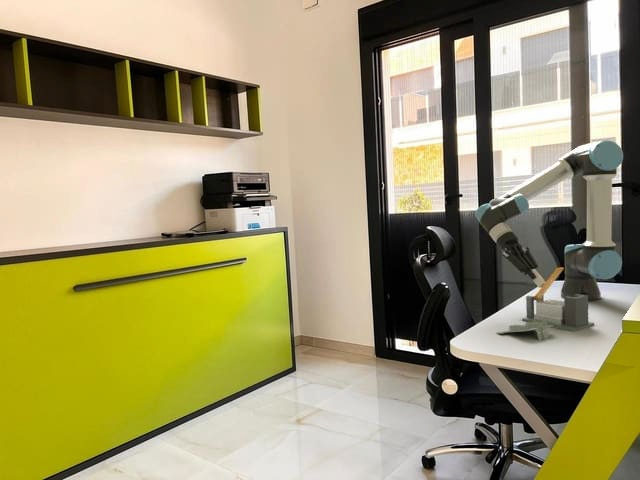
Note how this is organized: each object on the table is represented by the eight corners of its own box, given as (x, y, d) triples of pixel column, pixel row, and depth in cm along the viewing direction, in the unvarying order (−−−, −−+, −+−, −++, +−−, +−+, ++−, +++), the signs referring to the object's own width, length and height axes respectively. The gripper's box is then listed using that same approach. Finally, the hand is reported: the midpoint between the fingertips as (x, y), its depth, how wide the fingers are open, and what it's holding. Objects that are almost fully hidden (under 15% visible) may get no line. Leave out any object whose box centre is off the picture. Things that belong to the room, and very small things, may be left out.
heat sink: (524, 317, 176) (524, 296, 175) (541, 313, 180) (540, 293, 179) (561, 325, 163) (560, 302, 162) (577, 320, 167) (577, 298, 167)
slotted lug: (564, 325, 163) (564, 296, 162) (577, 321, 166) (576, 294, 166) (575, 327, 160) (575, 298, 159) (588, 323, 163) (588, 295, 162)
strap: (534, 301, 175) (532, 298, 176) (540, 299, 176) (537, 297, 177) (559, 270, 165) (556, 267, 166) (564, 269, 167) (561, 266, 168)
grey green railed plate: (522, 320, 175) (522, 318, 175) (543, 315, 181) (543, 312, 181) (572, 331, 158) (572, 329, 158) (594, 325, 164) (594, 322, 164)
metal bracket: (558, 318, 155) (523, 325, 149) (563, 336, 154) (528, 344, 148) (525, 321, 168) (492, 328, 162) (529, 338, 167) (496, 345, 161)
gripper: (510, 242, 191) (548, 289, 178) (486, 245, 185) (524, 294, 171) (521, 229, 186) (561, 276, 172) (497, 231, 180) (536, 281, 166)
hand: (542, 285), depth 172 cm, fingers closed
